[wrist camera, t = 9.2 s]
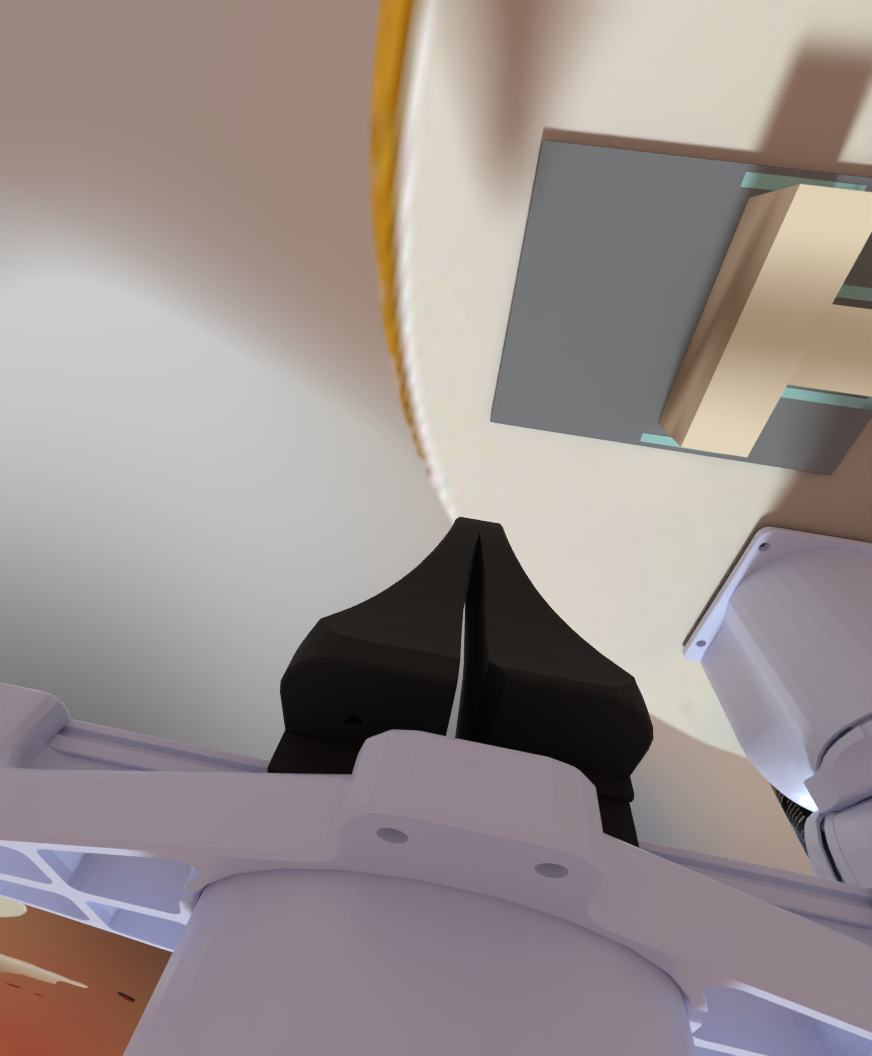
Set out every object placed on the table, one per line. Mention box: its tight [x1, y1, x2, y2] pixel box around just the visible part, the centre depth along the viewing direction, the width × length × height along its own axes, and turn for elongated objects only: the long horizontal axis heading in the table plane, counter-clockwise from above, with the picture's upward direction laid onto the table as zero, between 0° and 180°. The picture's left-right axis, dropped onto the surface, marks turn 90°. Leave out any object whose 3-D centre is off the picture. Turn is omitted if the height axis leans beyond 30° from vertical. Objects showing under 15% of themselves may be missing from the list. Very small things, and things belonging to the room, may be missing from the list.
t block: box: [658, 184, 872, 457], centre depth 15 cm, size 8×7×3 cm
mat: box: [490, 140, 872, 475], centre depth 17 cm, size 10×16×1 cm, turn 84°
